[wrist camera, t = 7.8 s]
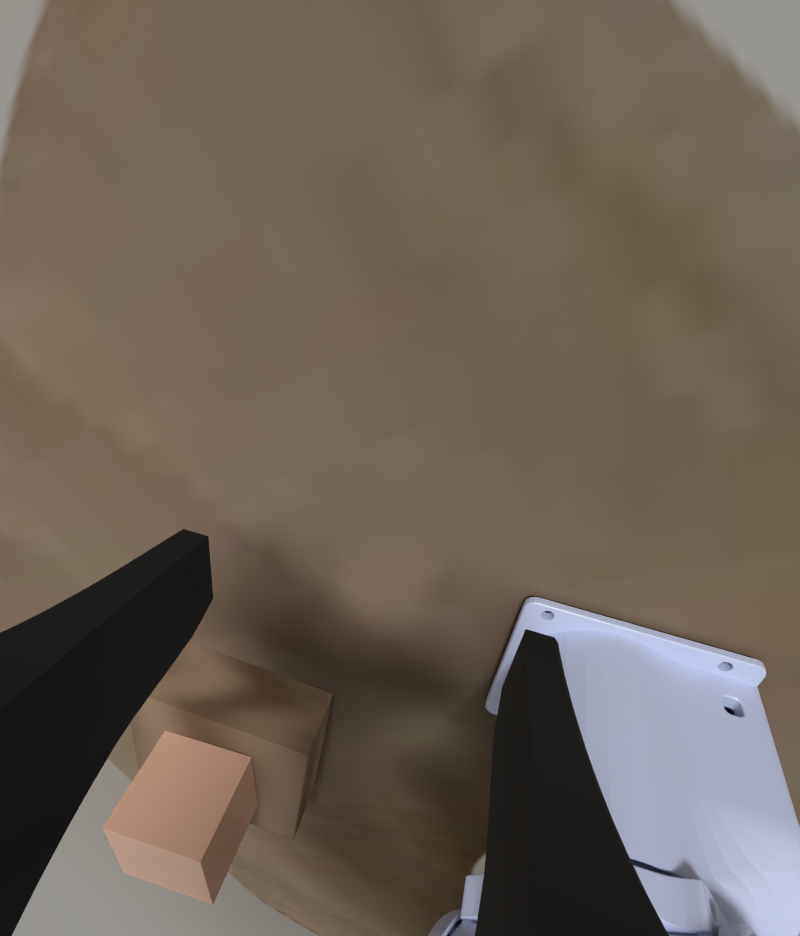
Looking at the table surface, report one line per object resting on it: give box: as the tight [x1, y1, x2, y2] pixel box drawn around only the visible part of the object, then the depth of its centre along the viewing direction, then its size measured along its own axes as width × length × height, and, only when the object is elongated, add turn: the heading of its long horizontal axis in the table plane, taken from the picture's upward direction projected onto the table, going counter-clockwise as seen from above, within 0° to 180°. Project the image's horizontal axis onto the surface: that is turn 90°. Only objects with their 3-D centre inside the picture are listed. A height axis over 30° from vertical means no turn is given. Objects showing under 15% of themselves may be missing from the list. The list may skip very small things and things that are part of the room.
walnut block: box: [131, 643, 333, 840], centre depth 33 cm, size 10×10×4 cm
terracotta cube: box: [103, 730, 258, 905], centre depth 30 cm, size 5×5×5 cm
